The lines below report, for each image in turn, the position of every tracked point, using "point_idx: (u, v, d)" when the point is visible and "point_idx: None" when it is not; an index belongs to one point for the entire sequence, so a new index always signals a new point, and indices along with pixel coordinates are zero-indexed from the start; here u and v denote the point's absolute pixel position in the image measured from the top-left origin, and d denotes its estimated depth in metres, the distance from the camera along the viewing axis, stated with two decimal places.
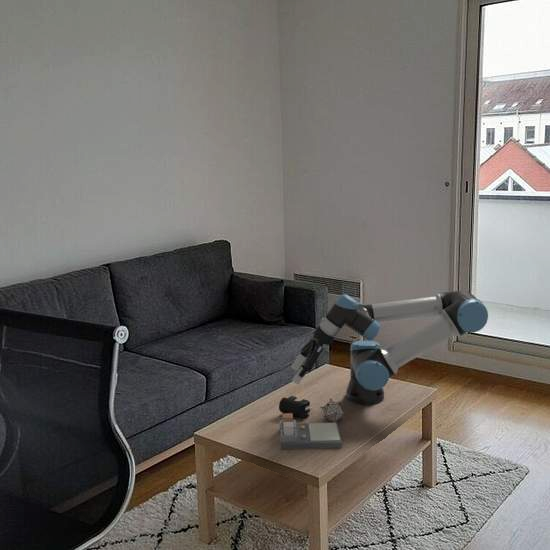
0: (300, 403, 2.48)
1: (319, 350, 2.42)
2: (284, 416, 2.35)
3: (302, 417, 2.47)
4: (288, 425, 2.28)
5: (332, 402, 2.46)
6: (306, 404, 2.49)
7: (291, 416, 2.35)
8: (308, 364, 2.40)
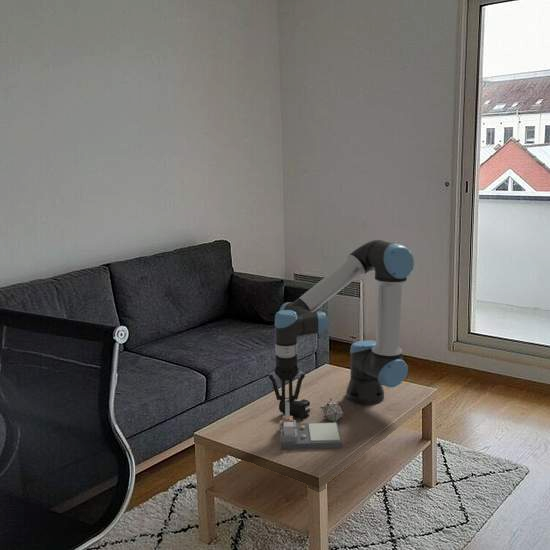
0: (300, 403, 2.48)
1: None
2: (284, 419, 2.36)
3: (302, 417, 2.47)
4: (288, 425, 2.28)
5: (332, 402, 2.46)
6: (306, 404, 2.49)
7: (291, 419, 2.35)
8: (298, 394, 2.34)
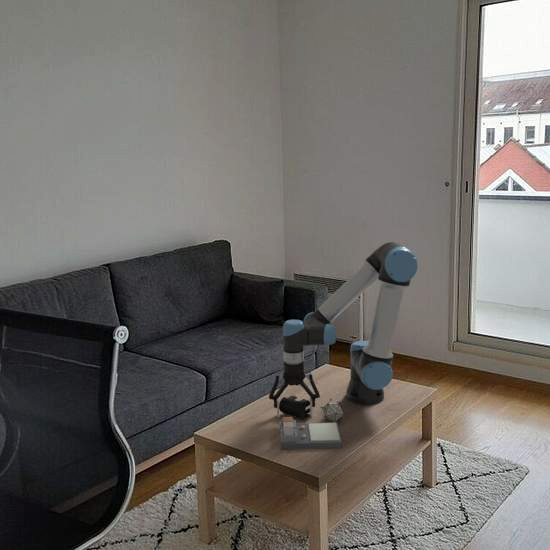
0: (300, 403, 2.48)
1: None
2: (284, 420, 2.36)
3: (302, 417, 2.47)
4: (288, 425, 2.28)
5: (332, 402, 2.46)
6: (306, 404, 2.49)
7: (291, 420, 2.36)
8: (318, 392, 2.49)
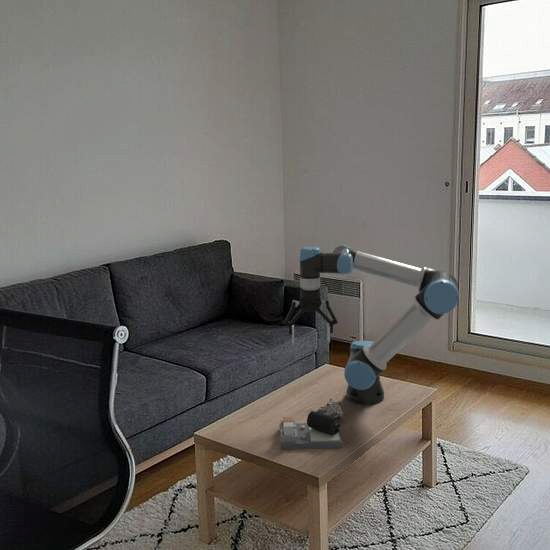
0: (330, 417, 2.29)
1: None
2: (284, 420, 2.36)
3: (332, 432, 2.29)
4: (288, 425, 2.28)
5: (332, 402, 2.46)
6: (336, 418, 2.31)
7: (291, 420, 2.36)
8: (335, 318, 2.51)
